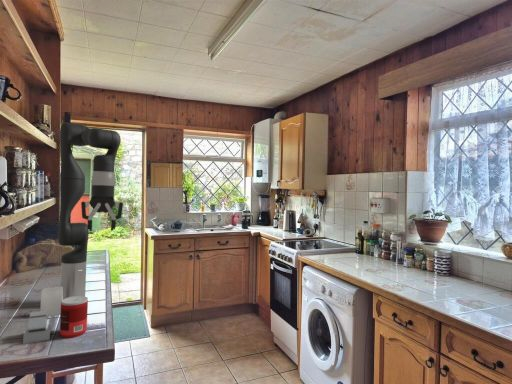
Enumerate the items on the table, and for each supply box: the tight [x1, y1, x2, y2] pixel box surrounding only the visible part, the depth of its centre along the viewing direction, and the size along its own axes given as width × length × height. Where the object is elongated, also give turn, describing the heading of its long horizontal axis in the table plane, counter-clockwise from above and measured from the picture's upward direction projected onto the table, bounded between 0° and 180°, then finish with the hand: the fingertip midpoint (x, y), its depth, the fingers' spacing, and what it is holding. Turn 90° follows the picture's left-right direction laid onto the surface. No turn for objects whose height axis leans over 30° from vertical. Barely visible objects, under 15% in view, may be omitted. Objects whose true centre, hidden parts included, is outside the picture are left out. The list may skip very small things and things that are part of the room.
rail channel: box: [22, 325, 52, 345], centre depth 107 cm, size 9×7×3 cm
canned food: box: [59, 296, 89, 339], centre depth 110 cm, size 8×8×11 cm
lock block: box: [28, 311, 48, 332], centre depth 107 cm, size 6×5×7 cm
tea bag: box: [39, 286, 63, 317], centre depth 126 cm, size 4×7×10 cm, turn 115°
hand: (101, 230), depth 121 cm, fingers open, 6 cm apart
